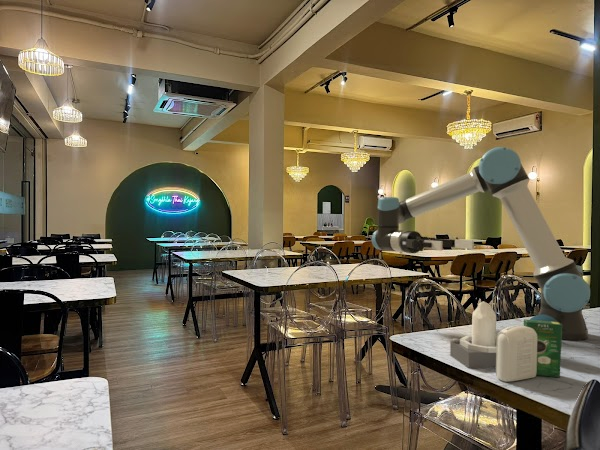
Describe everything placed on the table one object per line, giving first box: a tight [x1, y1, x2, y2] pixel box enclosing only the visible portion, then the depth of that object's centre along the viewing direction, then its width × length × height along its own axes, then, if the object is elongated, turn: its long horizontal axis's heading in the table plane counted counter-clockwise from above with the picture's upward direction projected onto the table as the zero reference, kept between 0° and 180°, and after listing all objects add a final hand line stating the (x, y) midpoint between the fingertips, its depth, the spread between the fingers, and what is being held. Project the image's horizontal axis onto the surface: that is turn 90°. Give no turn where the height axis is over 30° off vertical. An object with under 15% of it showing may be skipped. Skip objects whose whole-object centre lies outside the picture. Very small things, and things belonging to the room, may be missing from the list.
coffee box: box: [523, 318, 563, 378], centre depth 103 cm, size 8×3×13 cm, turn 76°
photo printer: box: [495, 325, 537, 383], centre depth 100 cm, size 10×4×12 cm, turn 112°
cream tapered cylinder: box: [471, 301, 497, 347], centre depth 113 cm, size 6×12×6 cm
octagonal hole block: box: [449, 335, 497, 369], centre depth 113 cm, size 14×11×5 cm
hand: (457, 245), depth 126 cm, fingers open, 13 cm apart
